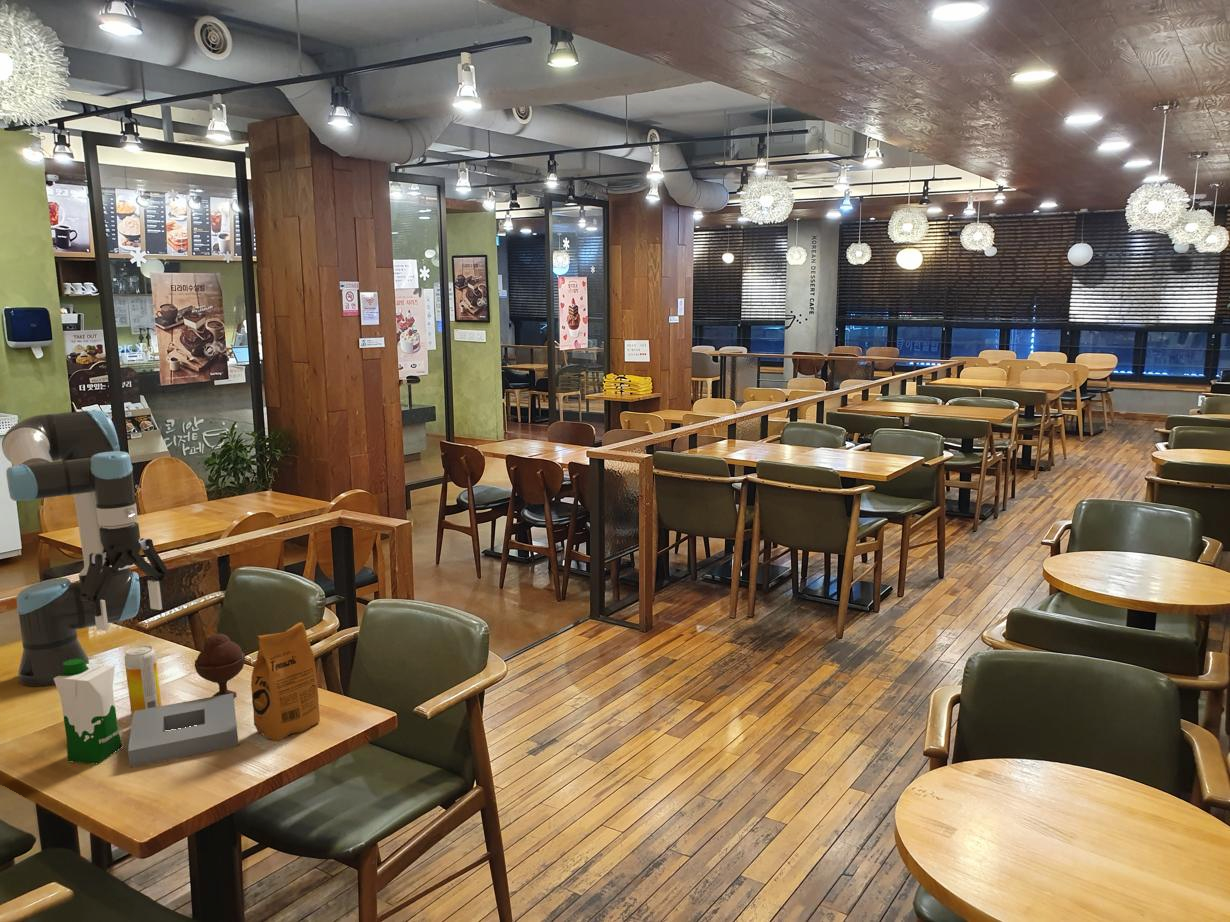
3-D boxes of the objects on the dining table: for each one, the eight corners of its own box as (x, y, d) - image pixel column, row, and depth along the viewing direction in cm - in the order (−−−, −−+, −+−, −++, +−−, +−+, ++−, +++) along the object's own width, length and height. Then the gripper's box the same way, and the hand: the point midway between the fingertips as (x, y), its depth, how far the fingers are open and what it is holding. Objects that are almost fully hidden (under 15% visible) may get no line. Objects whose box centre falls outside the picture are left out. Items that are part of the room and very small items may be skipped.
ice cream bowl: (188, 706, 210) (180, 643, 208) (219, 686, 221) (213, 626, 218) (228, 709, 208) (222, 646, 205) (258, 689, 219) (252, 628, 216)
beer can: (151, 705, 211) (143, 643, 209) (167, 710, 208) (160, 647, 206) (126, 716, 206) (117, 652, 204) (142, 721, 203) (134, 657, 200)
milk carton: (92, 743, 194) (80, 652, 190) (130, 746, 192) (118, 654, 188) (60, 763, 185) (46, 669, 182) (99, 767, 184) (86, 672, 180)
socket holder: (135, 726, 201) (133, 711, 200) (234, 707, 209) (233, 693, 208) (130, 767, 183) (127, 751, 182) (238, 745, 191) (237, 729, 190)
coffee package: (248, 731, 197) (238, 633, 193) (301, 711, 206) (293, 616, 203) (272, 745, 191) (262, 643, 187) (326, 723, 200) (317, 626, 196)
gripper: (77, 540, 185) (90, 641, 189) (179, 512, 208) (189, 602, 212) (51, 537, 188) (65, 636, 192) (154, 510, 211) (165, 599, 215)
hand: (130, 619), depth 202 cm, fingers open, 13 cm apart
